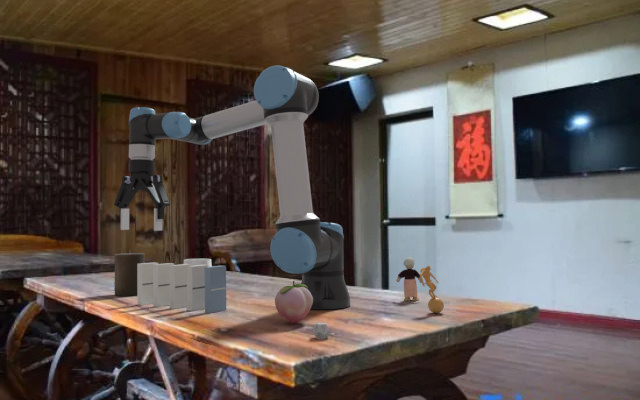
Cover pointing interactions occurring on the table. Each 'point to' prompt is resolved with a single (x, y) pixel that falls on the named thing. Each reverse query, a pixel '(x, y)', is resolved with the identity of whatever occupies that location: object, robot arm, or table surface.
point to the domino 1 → (145, 283)
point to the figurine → (431, 291)
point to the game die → (321, 331)
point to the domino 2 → (161, 284)
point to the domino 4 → (196, 287)
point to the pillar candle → (127, 273)
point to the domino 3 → (178, 286)
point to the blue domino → (215, 289)
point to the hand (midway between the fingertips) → (141, 230)
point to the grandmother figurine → (409, 280)
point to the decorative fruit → (293, 302)
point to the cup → (198, 262)
